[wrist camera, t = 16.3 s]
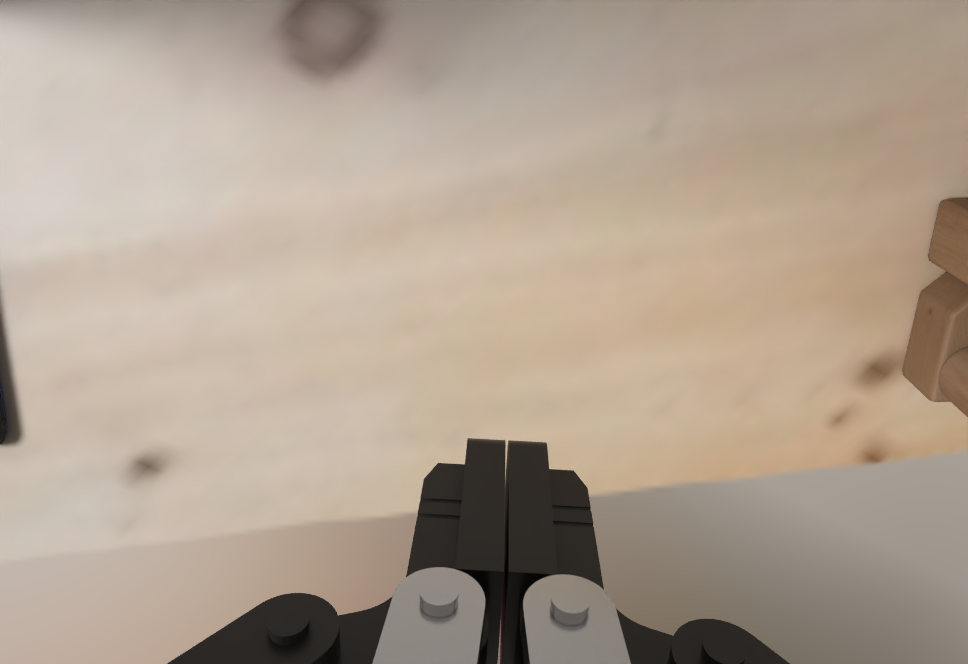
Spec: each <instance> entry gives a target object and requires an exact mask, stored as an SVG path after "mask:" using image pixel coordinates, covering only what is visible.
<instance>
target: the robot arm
mask: <svg viewBox="0 0 968 664" xmlns="http://www.w3.org/2000/svg"><path fill="white" fill-rule="evenodd" d="M500 620H501V646H500V649H501V650H500V664H789V663H788V662H787V661H786V660H784V659H783V658H782V657H780V656H779V655H778V654H776V653H775V652H774V651H772V650H771V649H770V648H769V647H767V646H766V645H765V644H763V643H762V642H761V641H759V640H758V639H757V638H755V637H754V636H753V635H751V634H750V633H748V632H747V631H745V630H744V629H742V628H740V627H738V626H736V625H733V624H731V623H728V622H725V621H721V620H715V619H699V620H693V621H690V622H688V623H686V624H684V625H682V626H681V627H680V628H679V629H678V630H677V631H676V633H675V634H674V636H672V635H669V634H666V633H663V632H659V631H657V630H653V629H650V628H647V627H645V626H642V625H640V624H637V623H636V622H634V621H632V620H630V619H628V618H627V617H625V616H624V615H623V614H622V613H620V612H619V611H618V610H617V609H616V607H615V605H614V603H613V601H612V599H611V597H610V596H609V595H608V593H607V592H606V591H605V590H604V588H603V582H602V576H601V570H600V564H599V558H598V551H597V545H596V539H595V532H594V527H593V520H592V513H591V511H590V501H589V495H588V489H587V487H586V486H585V484H584V483H583V482H582V481H581V479H580V478H579V477H578V476H577V474H576V473H575V472H574V471H570V470H553V469H549V463H548V451H547V443H545V442H527V441H508V451H507V466H506V480H505V440H489V439H472V438H468V440H467V450H466V460H465V465H463V464H445V463H438V464H437V465H436V466H435V467H434V468H433V470H432V471H431V472H430V473H429V474H428V475H427V476H426V477H425V478H424V482H423V488H422V493H421V501H420V504H419V510H418V517H417V521H416V526H415V532H414V537H413V543H412V548H411V554H410V559H409V565H408V571H407V575H406V578H405V579H403V581H401V583H400V584H399V585H398V586H397V588H396V589H395V592H394V594H393V597H391V598H390V599H389V600H387V601H386V602H384V603H382V604H380V605H378V606H376V607H373V608H371V609H367V610H363V611H359V612H354V613H349V614H344V615H339V616H338V615H337V612H336V611H335V609H334V608H333V606H332V605H331V604H329V602H327V601H326V600H324V599H322V598H320V597H318V596H315V595H311V594H305V593H291V594H284V595H280V596H277V597H274V598H271V599H269V600H267V601H265V602H263V603H261V604H260V605H258V606H256V607H255V608H253V609H252V610H250V611H249V612H247V613H246V614H244V615H242V616H241V617H239V618H238V619H236V620H235V621H233V622H231V623H230V624H228V625H227V626H225V627H224V628H222V629H221V630H219V631H217V632H216V633H214V634H213V635H211V636H210V637H208V638H206V639H205V640H203V641H202V642H200V643H199V644H197V645H196V646H194V647H192V648H191V649H189V650H188V651H186V652H185V653H183V654H182V655H180V656H178V657H177V658H175V659H174V660H172V661H171V662H169V663H168V664H497V660H498V647H499V633H500Z"/></svg>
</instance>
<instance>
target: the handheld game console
mask: <svg viewBox="0 0 968 664" xmlns="http://www.w3.org/2000/svg"><path fill="white" fill-rule="evenodd" d="M6 434H7V427H6V422H5V413H4V407H3V400H2V394H1V387H0V444H2V443H3V441H4V440H5V438H6Z"/></svg>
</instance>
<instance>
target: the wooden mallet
mask: <svg viewBox="0 0 968 664" xmlns="http://www.w3.org/2000/svg"><path fill="white" fill-rule="evenodd" d="M928 257H929V261H931V262H932V263H934V264H936V265H937V266H939V267H941V268H942V269H944V270H945V271H947V272H946V273H944V274H943V275H942V276H941V277H939V278H938V279H937V280H935V281H934V282H933V283H931V284H930V285H929V286H927V287H926V288H925V289H924V290H922V291H921V293H920V296H919V300H918V304H917V309H916V313H915V318H914V322H913V326H912V331H911V335H910V340H909V344H908V348H907V353H906V357H905V361H904V366H903V370H902V371H903V375H904V376H905V377H906V378H907V379H908V380H909V381H910V382H911V383H912V384H913V385H914V386H915V387H916V388H917V389H918V390H919V391H920V392H921V393H922V394H923V395H924V396H925V397H926V398H928V399H929V400H931V401H934V402H952V403H953V404H954V405H955V406H956V407H957V408H958V409H959V410H960V411H961V412H963V413H964V414H965V415H966V416H967V417H968V199H947V200H943V201H941V203H940V205H939V209H938V214H937V218H936V223H935V227H934V231H933V236H932V240H931V245H930V249H929V254H928Z"/></svg>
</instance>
